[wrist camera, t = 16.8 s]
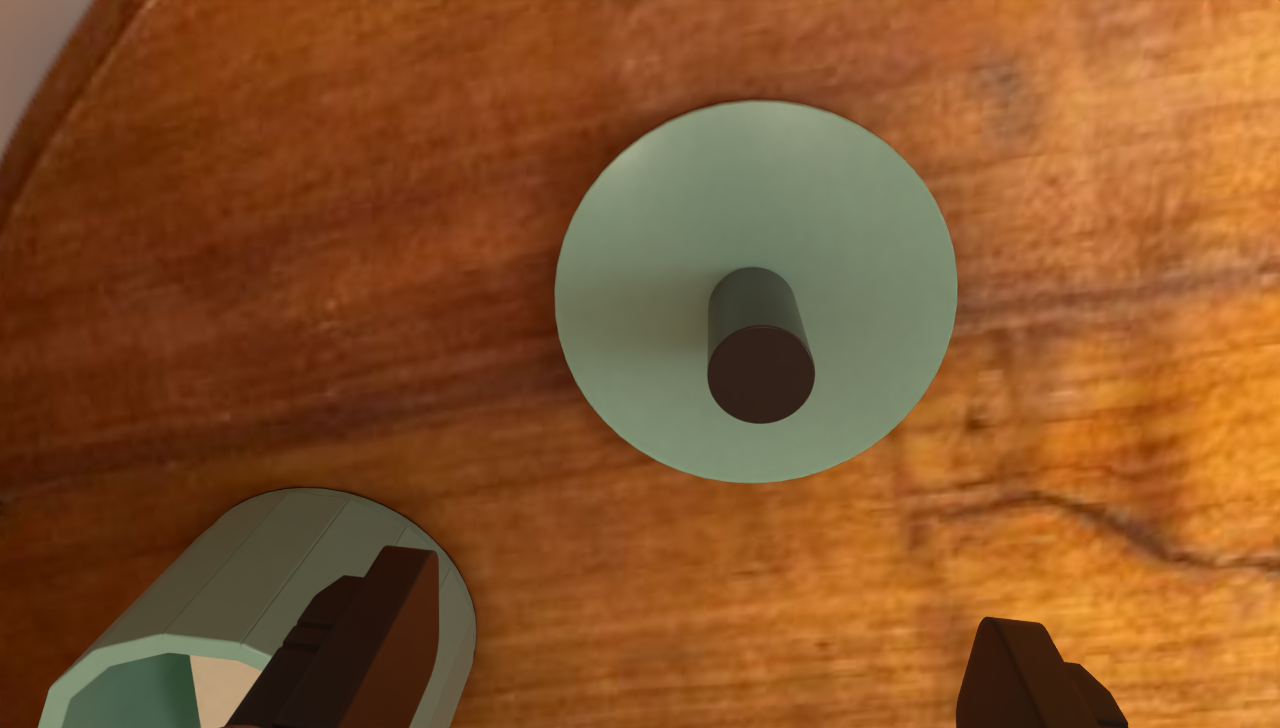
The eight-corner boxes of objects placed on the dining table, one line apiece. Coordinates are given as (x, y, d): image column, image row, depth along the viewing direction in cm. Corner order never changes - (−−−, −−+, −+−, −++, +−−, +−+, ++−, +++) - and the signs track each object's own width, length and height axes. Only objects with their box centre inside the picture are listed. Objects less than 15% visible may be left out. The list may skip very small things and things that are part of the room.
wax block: (273, 665, 31) (205, 764, 27) (261, 562, 29) (187, 651, 25) (393, 679, 31) (344, 781, 26) (389, 576, 29) (336, 668, 25)
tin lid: (553, 446, 27) (513, 555, 22) (569, 79, 23) (523, 99, 17) (906, 484, 27) (956, 604, 21) (988, 115, 22) (1076, 147, 17)
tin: (208, 709, 32) (72, 895, 25) (173, 471, 28) (2, 615, 22) (476, 741, 32) (411, 940, 25) (477, 505, 28) (401, 662, 21)
